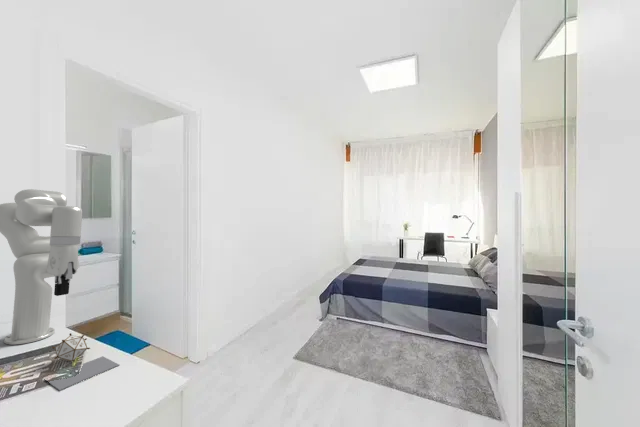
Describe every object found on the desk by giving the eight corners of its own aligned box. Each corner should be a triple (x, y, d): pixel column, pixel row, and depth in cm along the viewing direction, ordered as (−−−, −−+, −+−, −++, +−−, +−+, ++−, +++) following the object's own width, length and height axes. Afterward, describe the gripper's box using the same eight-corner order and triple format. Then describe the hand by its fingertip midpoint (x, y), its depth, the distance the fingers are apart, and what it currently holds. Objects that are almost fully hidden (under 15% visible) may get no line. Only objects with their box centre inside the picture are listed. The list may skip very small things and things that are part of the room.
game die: (78, 369, 84) (103, 342, 86) (51, 374, 76) (79, 344, 79) (64, 351, 86) (88, 325, 89) (36, 354, 78) (64, 325, 81)
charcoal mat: (43, 379, 72) (43, 378, 72) (102, 357, 85) (102, 356, 85) (59, 391, 68) (59, 389, 68) (119, 365, 80) (119, 364, 81)
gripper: (41, 240, 88) (36, 294, 87) (60, 243, 81) (56, 301, 81) (69, 239, 95) (65, 289, 94) (89, 242, 88) (85, 295, 87)
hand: (61, 294), depth 87 cm, fingers closed
